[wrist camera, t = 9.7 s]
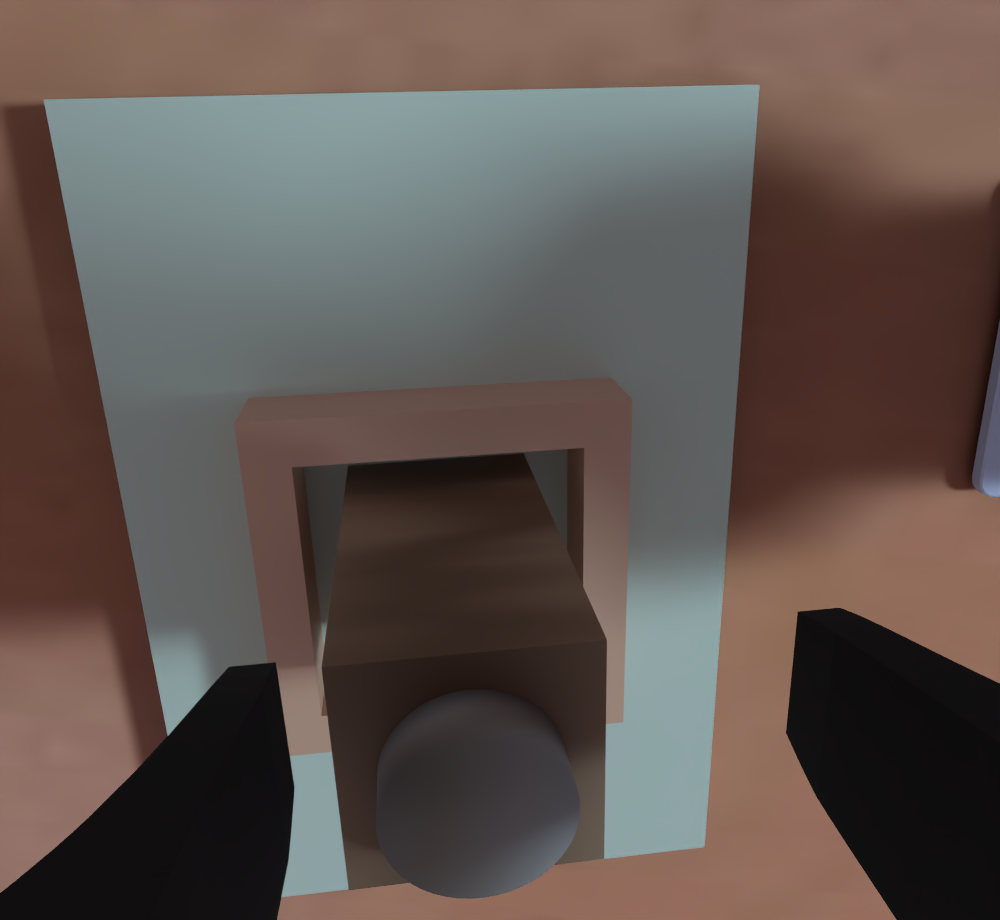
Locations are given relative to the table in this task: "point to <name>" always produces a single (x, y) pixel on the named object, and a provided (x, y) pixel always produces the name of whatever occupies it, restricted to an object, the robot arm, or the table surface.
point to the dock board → (422, 376)
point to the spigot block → (461, 681)
